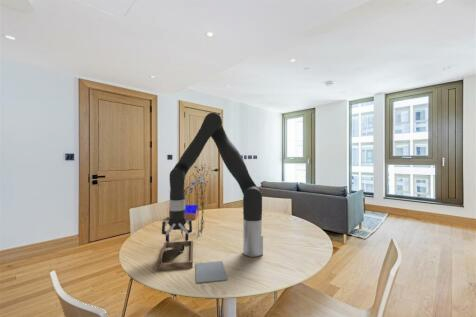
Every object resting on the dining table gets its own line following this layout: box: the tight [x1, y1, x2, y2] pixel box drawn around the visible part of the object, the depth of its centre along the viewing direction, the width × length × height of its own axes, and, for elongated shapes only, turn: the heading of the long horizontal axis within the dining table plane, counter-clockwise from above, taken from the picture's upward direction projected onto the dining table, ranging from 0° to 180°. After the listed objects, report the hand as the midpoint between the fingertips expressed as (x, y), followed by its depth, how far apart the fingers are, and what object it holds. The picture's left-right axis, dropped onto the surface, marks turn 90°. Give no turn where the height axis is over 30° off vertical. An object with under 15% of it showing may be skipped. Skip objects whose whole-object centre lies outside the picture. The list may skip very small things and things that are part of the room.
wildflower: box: [174, 163, 211, 238], centre depth 139 cm, size 22×23×45 cm
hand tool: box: [162, 243, 185, 263], centre depth 106 cm, size 19×4×5 cm, turn 167°
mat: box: [195, 260, 228, 284], centre depth 95 cm, size 12×16×1 cm
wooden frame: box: [156, 240, 194, 272], centre depth 110 cm, size 15×26×2 cm, turn 11°
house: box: [185, 204, 200, 221], centre depth 175 cm, size 12×20×12 cm, turn 90°
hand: (177, 241), depth 110 cm, fingers open, 8 cm apart
